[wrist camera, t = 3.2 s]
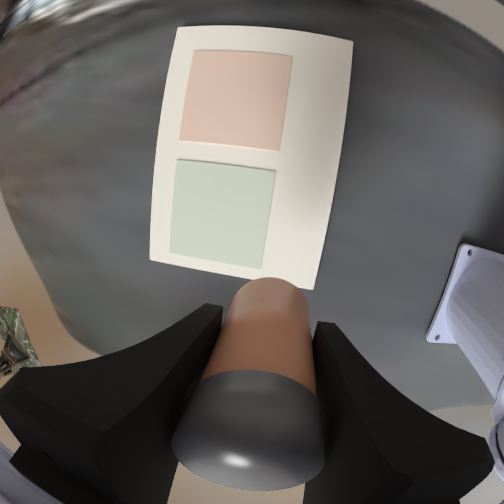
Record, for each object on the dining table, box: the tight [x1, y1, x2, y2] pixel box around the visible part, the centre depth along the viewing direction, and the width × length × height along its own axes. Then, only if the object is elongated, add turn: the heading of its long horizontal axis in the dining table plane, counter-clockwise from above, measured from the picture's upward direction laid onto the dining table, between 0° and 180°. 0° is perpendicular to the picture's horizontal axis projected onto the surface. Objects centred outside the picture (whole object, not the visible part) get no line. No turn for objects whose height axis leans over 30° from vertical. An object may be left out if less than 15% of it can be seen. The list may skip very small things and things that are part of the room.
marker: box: [171, 277, 325, 491], centre depth 8 cm, size 3×3×7 cm
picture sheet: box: [150, 26, 353, 290], centre depth 16 cm, size 11×16×1 cm
